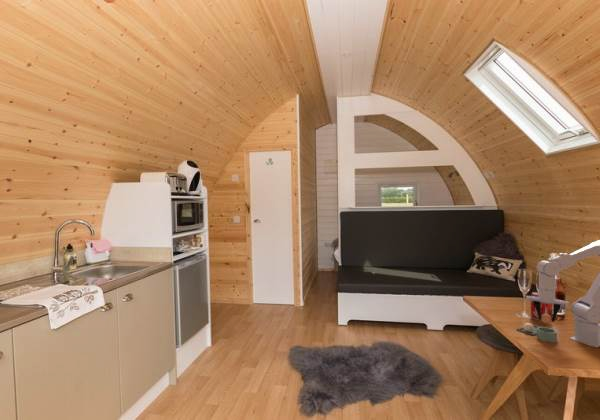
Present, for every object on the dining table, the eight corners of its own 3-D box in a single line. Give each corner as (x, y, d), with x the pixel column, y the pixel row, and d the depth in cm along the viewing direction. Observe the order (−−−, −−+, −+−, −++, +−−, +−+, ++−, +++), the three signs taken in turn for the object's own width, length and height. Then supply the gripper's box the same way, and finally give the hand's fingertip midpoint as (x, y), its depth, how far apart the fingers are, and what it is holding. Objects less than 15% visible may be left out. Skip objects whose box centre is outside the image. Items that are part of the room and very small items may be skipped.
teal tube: (560, 341, 140) (560, 331, 140) (550, 344, 137) (550, 334, 137) (542, 335, 146) (542, 325, 146) (533, 338, 143) (533, 328, 143)
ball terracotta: (552, 322, 142) (552, 313, 142) (552, 325, 139) (552, 316, 138) (540, 320, 144) (541, 311, 144) (540, 323, 141) (540, 314, 141)
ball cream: (536, 332, 148) (536, 323, 148) (530, 334, 146) (530, 325, 146) (526, 329, 152) (526, 320, 152) (521, 330, 150) (521, 322, 150)
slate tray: (548, 331, 150) (548, 329, 150) (532, 336, 145) (532, 334, 145) (532, 326, 156) (532, 324, 156) (516, 330, 151) (516, 328, 151)
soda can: (531, 320, 164) (532, 294, 164) (529, 315, 170) (529, 291, 170) (549, 322, 161) (549, 296, 160) (546, 318, 167) (546, 292, 167)
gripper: (568, 289, 140) (567, 321, 140) (527, 284, 149) (526, 314, 149) (568, 293, 134) (568, 326, 134) (526, 287, 143) (525, 318, 143)
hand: (546, 320), depth 141 cm, fingers closed on ball terracotta, 4 cm apart
